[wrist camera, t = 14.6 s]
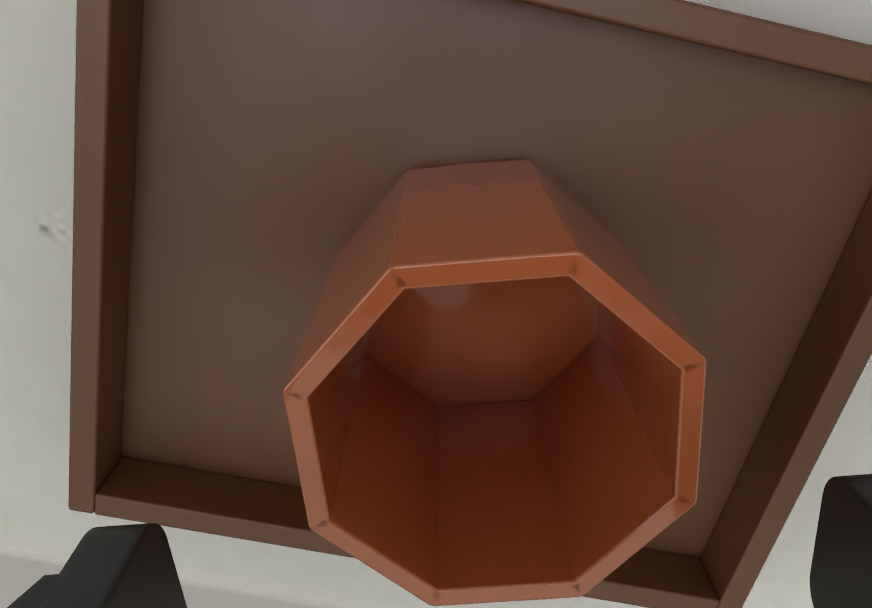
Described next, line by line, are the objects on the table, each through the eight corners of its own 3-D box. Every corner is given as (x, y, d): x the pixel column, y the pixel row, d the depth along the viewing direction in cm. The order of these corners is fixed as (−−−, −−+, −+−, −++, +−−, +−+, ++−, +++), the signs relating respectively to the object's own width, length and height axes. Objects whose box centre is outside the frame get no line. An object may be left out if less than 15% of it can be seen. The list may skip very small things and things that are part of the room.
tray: (103, 458, 18) (66, 510, 17) (126, -127, 13) (77, -146, 11) (707, 564, 20) (735, 622, 18) (940, 68, 15) (1013, 79, 13)
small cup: (361, 415, 17) (325, 613, 12) (325, 171, 15) (258, 277, 9) (609, 397, 17) (691, 591, 12) (612, 147, 15) (716, 240, 9)
